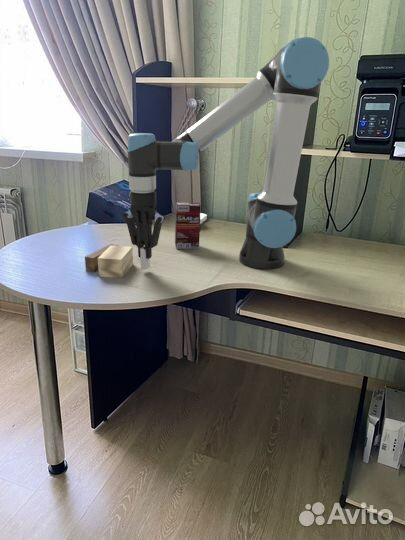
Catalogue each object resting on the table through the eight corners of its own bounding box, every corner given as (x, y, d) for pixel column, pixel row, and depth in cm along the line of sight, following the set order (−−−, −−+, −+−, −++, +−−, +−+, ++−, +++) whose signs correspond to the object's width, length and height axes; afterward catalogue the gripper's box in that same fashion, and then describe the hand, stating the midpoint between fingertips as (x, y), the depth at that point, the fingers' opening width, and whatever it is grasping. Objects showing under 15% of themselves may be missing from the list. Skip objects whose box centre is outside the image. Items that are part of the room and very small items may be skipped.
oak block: (133, 264, 134) (132, 246, 132) (122, 278, 123) (121, 259, 121) (111, 263, 135) (110, 245, 132) (99, 277, 124) (97, 258, 121)
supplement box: (175, 249, 149) (175, 205, 143) (174, 245, 153) (175, 202, 147) (199, 249, 150) (201, 205, 144) (198, 244, 154) (199, 202, 149)
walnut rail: (119, 258, 139) (119, 245, 137) (94, 272, 126) (93, 258, 125) (111, 256, 140) (111, 243, 138) (85, 270, 128) (84, 256, 126)
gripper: (169, 190, 120) (170, 267, 128) (130, 186, 124) (133, 260, 133) (156, 194, 113) (158, 275, 122) (116, 190, 118) (120, 268, 127)
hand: (145, 267), depth 127 cm, fingers closed
